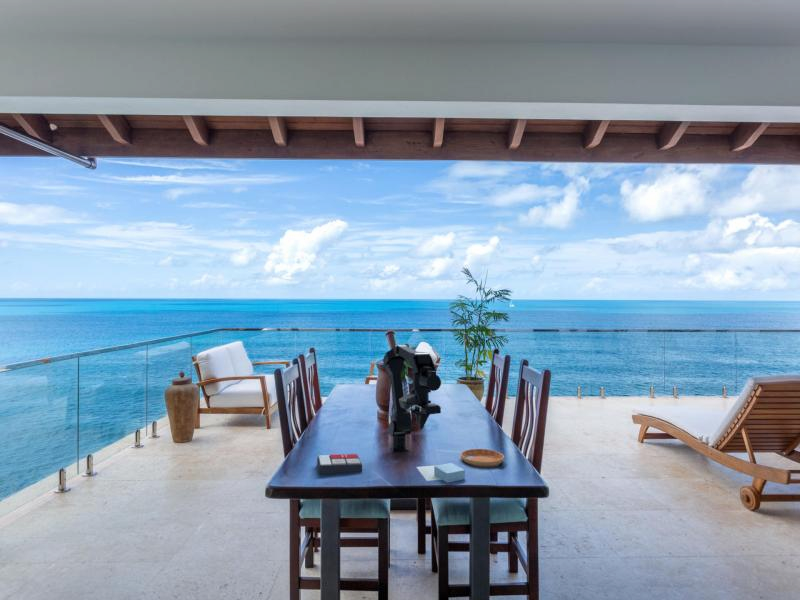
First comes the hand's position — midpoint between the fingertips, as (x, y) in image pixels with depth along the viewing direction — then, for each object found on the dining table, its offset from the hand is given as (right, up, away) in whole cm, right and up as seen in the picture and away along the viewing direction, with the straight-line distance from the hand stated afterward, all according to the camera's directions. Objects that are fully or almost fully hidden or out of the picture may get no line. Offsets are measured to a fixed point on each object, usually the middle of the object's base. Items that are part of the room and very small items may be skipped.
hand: (421, 428), depth 169 cm
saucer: (+23, -14, +2) cm, 27 cm away
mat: (+6, -13, -10) cm, 17 cm away
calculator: (-30, -14, -5) cm, 33 cm away
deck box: (+7, -11, -11) cm, 17 cm away
